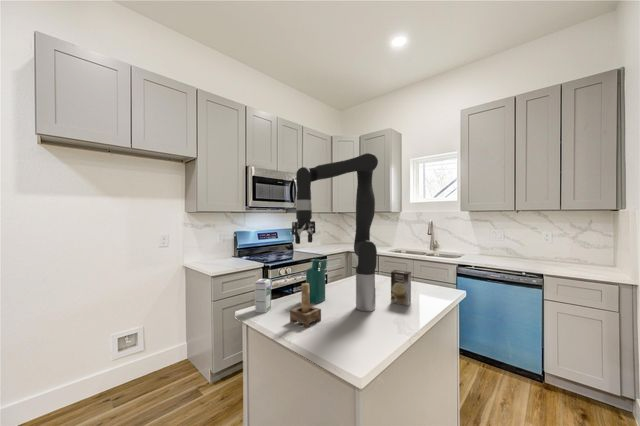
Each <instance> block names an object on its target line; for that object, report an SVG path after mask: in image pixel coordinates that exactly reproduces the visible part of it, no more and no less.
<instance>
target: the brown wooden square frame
mask: <svg viewBox="0 0 640 426" xmlns="http://www.w3.org/2000/svg"><path fill="white" fill-rule="evenodd" d="M321 321H322V309H321V308H318V307H315V306H311V305H310V312H308V313H303V312H302V305H301V306H298V307H295V308H293V309H289V322H290V323H291V324H295V323H296V322H299V323H302V327H303V328H305V329H307V328H309V327H310V323H312V322H317V323H319V322H321Z"/></svg>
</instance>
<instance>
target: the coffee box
mask: <svg viewBox="0 0 640 426" xmlns="http://www.w3.org/2000/svg"><path fill="white" fill-rule="evenodd" d="M411 290H412V272H411V271H407V270H401V269H393V270H392V271H391V272H390V303H393V304H396V305H397V304H399V305H403V306H409V305H410V304H411V303H412V299H411V298H412V291H411Z"/></svg>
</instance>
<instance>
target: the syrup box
mask: <svg viewBox="0 0 640 426" xmlns="http://www.w3.org/2000/svg"><path fill="white" fill-rule="evenodd" d="M271 286H272V285H271V278H259V279H258V280H256V281H254V304H255V305H254V308H255V313H256V312H257V313H268V312H269V310H271V308H272V299H271V298H272V295H271V294H272V293H271V291H272V290H271V289H272V288H271Z"/></svg>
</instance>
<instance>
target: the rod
mask: <svg viewBox="0 0 640 426" xmlns="http://www.w3.org/2000/svg"><path fill="white" fill-rule="evenodd" d="M310 303H311V302H309V283H306V282H303V283H301V306H302V312H303V313H308V312H310V306H311V304H310Z"/></svg>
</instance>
